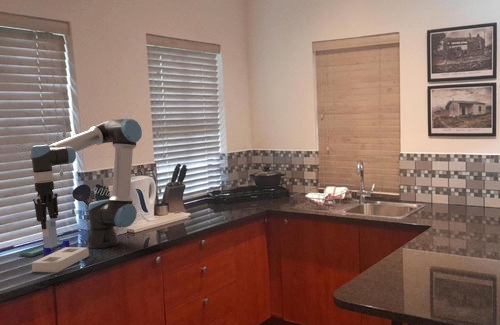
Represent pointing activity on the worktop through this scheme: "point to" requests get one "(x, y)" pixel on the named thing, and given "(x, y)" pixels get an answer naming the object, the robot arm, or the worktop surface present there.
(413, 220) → the worktop surface
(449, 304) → the worktop surface
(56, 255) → the socket strip
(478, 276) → the worktop surface
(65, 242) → the blue angular bent piece
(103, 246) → the robot arm
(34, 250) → the rectangular tray
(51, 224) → the plug
